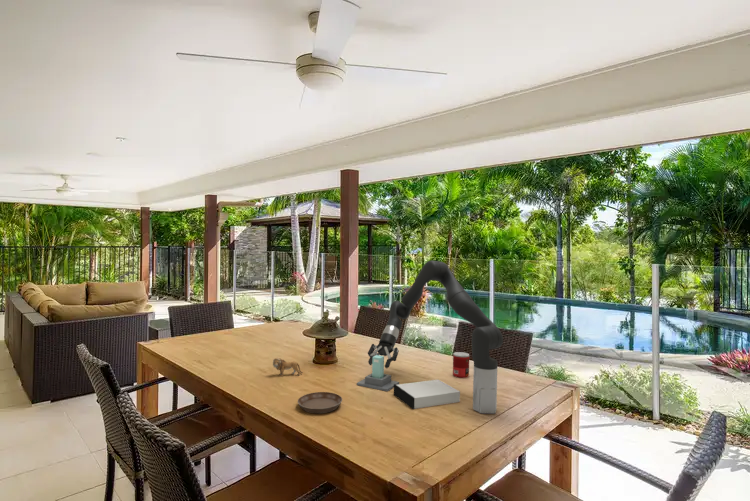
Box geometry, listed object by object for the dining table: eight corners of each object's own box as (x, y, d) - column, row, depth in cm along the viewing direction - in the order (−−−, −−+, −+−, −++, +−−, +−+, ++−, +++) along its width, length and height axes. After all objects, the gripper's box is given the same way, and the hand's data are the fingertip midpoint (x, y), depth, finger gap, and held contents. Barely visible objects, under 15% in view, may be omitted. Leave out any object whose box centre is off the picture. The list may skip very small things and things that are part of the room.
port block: (399, 383, 198) (399, 375, 198) (387, 391, 188) (387, 382, 188) (369, 378, 206) (369, 369, 206) (356, 385, 195) (356, 376, 195)
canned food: (469, 378, 208) (469, 356, 208) (452, 377, 210) (453, 355, 210) (468, 374, 216) (469, 352, 215) (452, 372, 217) (453, 351, 217)
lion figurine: (273, 378, 203) (273, 359, 203) (271, 375, 208) (272, 356, 208) (303, 375, 208) (304, 357, 208) (301, 372, 213) (301, 354, 213)
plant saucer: (300, 418, 158) (300, 409, 158) (295, 400, 175) (295, 393, 175) (346, 413, 163) (346, 405, 163) (337, 397, 180) (337, 390, 180)
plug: (383, 381, 198) (384, 356, 198) (379, 384, 194) (380, 358, 194) (376, 380, 200) (376, 355, 200) (371, 382, 196) (372, 357, 196)
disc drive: (393, 395, 184) (393, 384, 184) (437, 389, 193) (437, 378, 193) (412, 410, 168) (412, 398, 168) (460, 403, 177) (460, 391, 177)
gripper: (374, 330, 207) (361, 359, 197) (400, 334, 200) (389, 364, 191) (379, 339, 212) (367, 367, 202) (404, 343, 205) (394, 372, 195)
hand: (377, 365), depth 196 cm, fingers open, 8 cm apart
